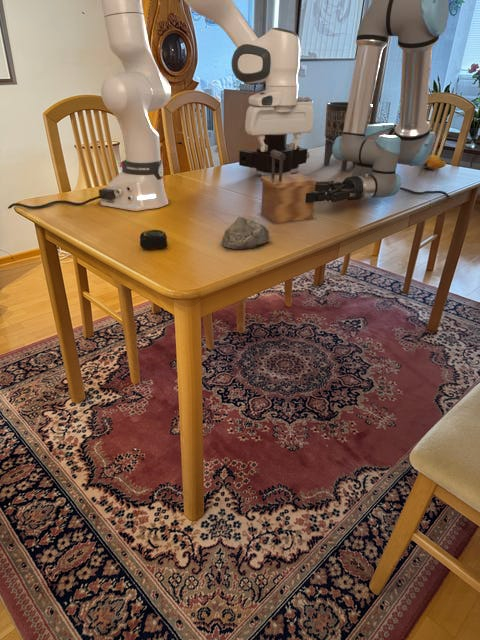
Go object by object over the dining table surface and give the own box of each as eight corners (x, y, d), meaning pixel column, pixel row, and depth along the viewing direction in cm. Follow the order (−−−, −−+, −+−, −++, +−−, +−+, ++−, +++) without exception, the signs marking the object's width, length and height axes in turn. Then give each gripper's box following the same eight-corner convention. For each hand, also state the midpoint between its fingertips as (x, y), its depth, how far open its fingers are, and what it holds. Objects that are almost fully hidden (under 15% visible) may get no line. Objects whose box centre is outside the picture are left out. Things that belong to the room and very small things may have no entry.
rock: (255, 233, 128) (256, 211, 124) (276, 242, 122) (278, 219, 119) (217, 244, 120) (217, 220, 117) (239, 254, 115) (239, 230, 111)
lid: (274, 188, 132) (275, 155, 127) (260, 180, 139) (261, 149, 135) (315, 184, 137) (318, 152, 132) (299, 177, 144) (302, 146, 140)
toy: (420, 162, 205) (414, 155, 217) (422, 176, 207) (416, 168, 220) (446, 154, 201) (438, 147, 214) (448, 168, 204) (440, 161, 217)
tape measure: (140, 252, 115) (139, 238, 113) (141, 242, 120) (140, 229, 119) (167, 251, 116) (166, 237, 114) (167, 241, 121) (166, 228, 120)
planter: (313, 167, 208) (319, 103, 195) (331, 160, 222) (338, 101, 209) (353, 173, 199) (362, 107, 185) (369, 166, 213) (379, 104, 199)
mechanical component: (240, 120, 182) (283, 115, 202) (239, 174, 192) (280, 164, 212) (283, 126, 170) (325, 120, 190) (280, 183, 180) (320, 171, 200)
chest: (274, 223, 138) (276, 188, 132) (261, 214, 145) (262, 180, 140) (312, 218, 142) (315, 184, 137) (297, 210, 150) (299, 177, 144)
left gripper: (308, 96, 131) (304, 146, 138) (243, 97, 124) (242, 150, 131) (319, 97, 126) (315, 150, 133) (252, 99, 119) (251, 154, 126)
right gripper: (340, 169, 156) (282, 173, 148) (380, 184, 138) (317, 190, 131) (337, 191, 160) (280, 196, 152) (376, 208, 142) (315, 215, 134)
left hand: (278, 150), depth 132 cm, fingers open, 8 cm apart
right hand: (298, 193), depth 141 cm, fingers closed on chest, 10 cm apart
